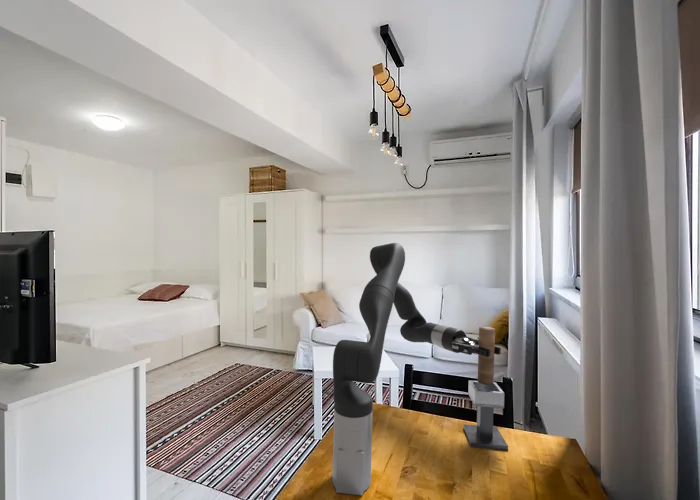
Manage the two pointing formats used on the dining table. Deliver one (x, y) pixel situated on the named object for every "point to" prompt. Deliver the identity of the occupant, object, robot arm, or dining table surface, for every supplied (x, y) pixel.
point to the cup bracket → (485, 416)
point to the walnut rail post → (486, 362)
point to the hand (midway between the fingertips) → (494, 352)
